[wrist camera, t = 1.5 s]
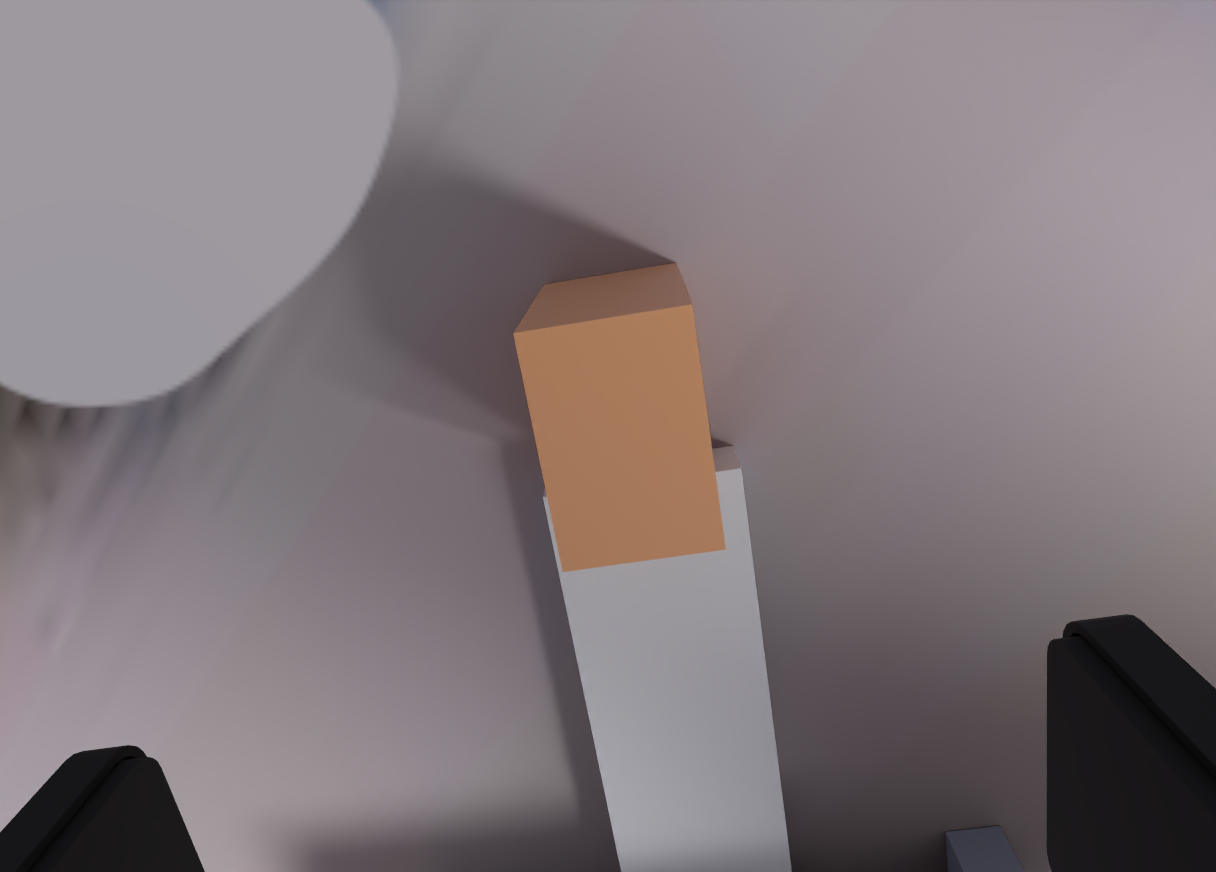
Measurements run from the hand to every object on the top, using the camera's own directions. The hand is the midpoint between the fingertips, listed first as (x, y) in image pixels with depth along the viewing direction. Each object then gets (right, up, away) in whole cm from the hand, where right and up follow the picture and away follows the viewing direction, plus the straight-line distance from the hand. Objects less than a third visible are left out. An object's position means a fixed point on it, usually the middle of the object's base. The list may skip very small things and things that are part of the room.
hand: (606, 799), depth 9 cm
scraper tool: (+2, -2, +20) cm, 20 cm away
